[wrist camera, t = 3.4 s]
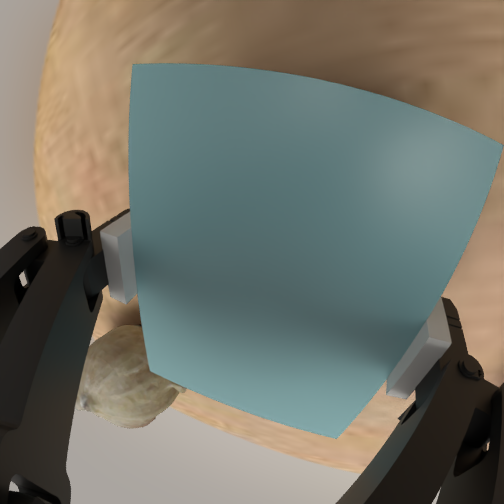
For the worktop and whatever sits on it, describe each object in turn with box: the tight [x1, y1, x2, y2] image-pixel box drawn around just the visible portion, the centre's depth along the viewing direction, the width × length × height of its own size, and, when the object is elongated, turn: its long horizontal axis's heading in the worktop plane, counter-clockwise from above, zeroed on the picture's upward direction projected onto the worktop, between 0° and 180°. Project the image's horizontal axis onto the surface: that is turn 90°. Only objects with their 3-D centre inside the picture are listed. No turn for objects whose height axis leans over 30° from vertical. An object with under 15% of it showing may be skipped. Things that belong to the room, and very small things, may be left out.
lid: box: [129, 63, 504, 439], centre depth 10 cm, size 13×9×3 cm
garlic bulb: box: [75, 325, 187, 428], centre depth 21 cm, size 9×8×10 cm
